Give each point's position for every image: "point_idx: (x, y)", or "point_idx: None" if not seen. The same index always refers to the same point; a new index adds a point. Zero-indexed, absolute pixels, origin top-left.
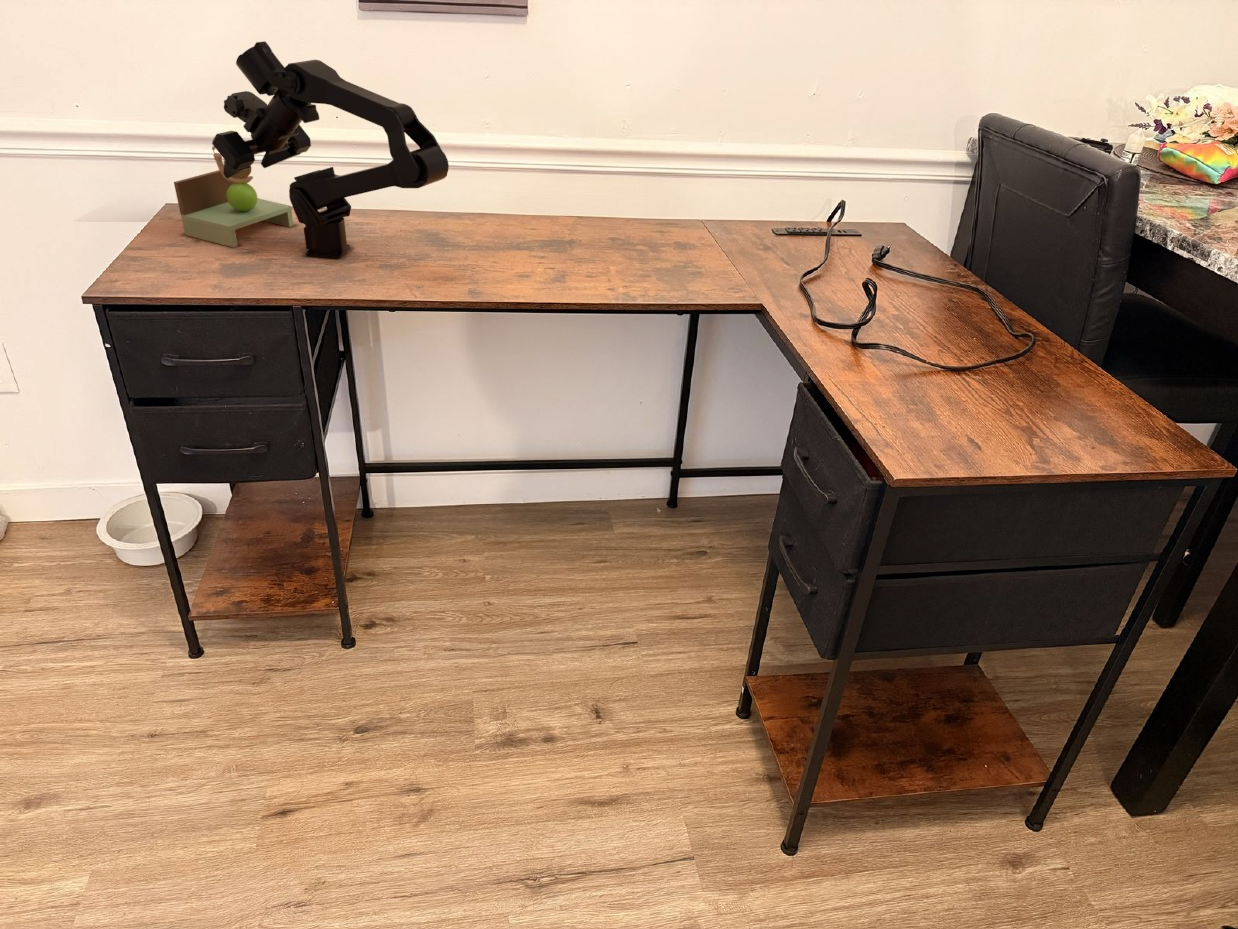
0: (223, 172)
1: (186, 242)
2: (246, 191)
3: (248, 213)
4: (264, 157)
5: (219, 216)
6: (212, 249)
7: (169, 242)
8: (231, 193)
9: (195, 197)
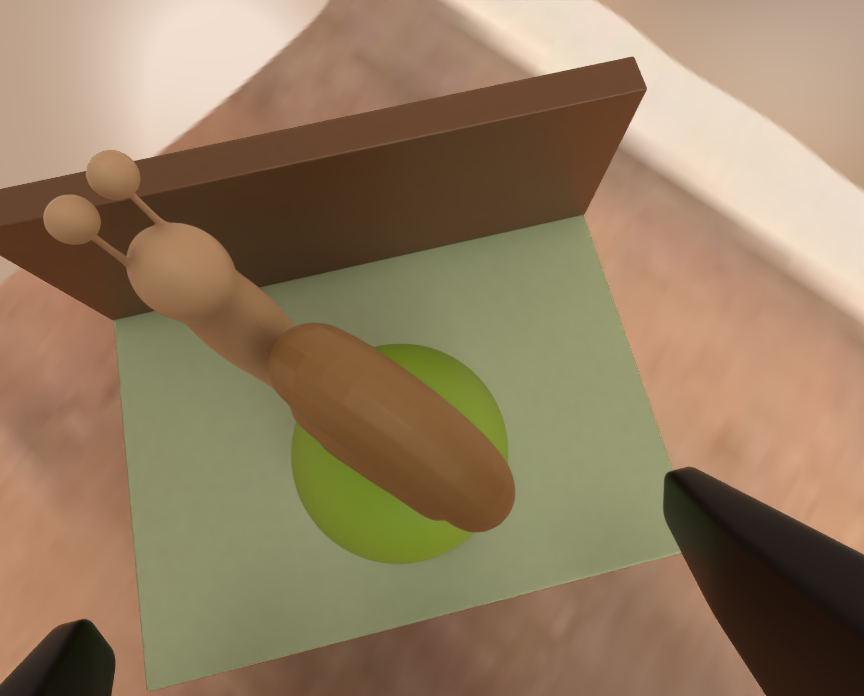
0: (38, 646)
1: (105, 426)
2: (385, 548)
3: None
4: (740, 558)
5: (232, 463)
6: (117, 607)
7: (56, 376)
8: (295, 473)
9: None
